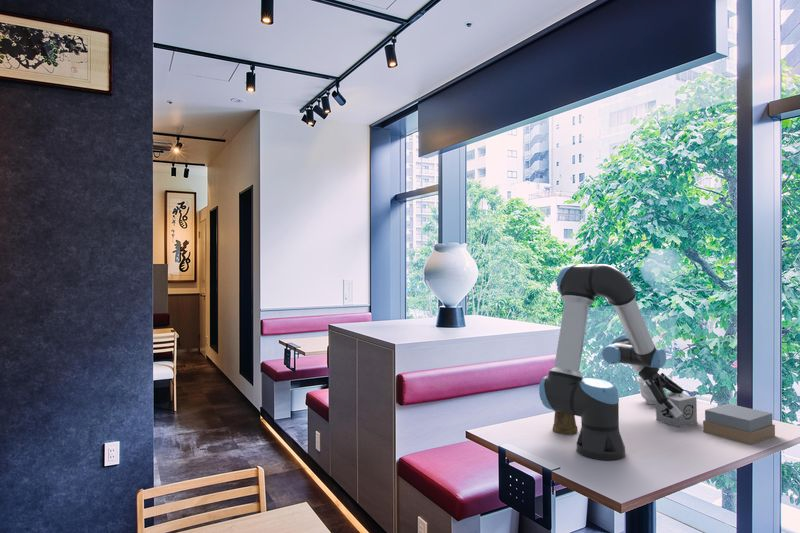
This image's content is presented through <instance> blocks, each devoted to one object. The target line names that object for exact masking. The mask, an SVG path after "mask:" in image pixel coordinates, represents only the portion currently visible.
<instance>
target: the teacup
mask: <svg viewBox="0 0 800 533" xmlns="http://www.w3.org/2000/svg"><path fill="white" fill-rule="evenodd" d="M636 381H637V382H638V385H639V390H640V395H641V397H642V399H644V400H645V403H646V404H648V405H656V398H655V397H654V395H653V393H652V391H651V390H650V388H649V387H648V385H647V384H646V383H645V382H646V381H647V380H646V381H644V380H643V379H642V378H641V377H639V378H637V379H636ZM663 390H664V392H665V390H666V388H663ZM665 393H666V392H665Z"/></svg>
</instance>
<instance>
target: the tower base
mask: <svg viewBox="0 0 800 533" xmlns="http://www.w3.org/2000/svg"><path fill="white" fill-rule="evenodd" d="M704 419H705V420H702V422H703V423H702V431H703V433H707V434H710V435H715V436H718V437H721V438H725V439H729V440H732V441H737V442H740V443H743V444H747V445H751V446H752V445H754V444H757V443H760V442H763V441H765V440H768V439H771V438H773V437H775V436H776V427H775V426H776V425H775V423H774V424H773V413H772V412H767V411H763V410H760V409H755V408H754V409H753V408H749V407H745V406H740V405H737V404H731V403H726V404H723V405H722V404H721V405H717V406H715V407H711V408H707V409H705V410H704ZM770 437H771V438H770Z"/></svg>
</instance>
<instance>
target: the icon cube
mask: <svg viewBox="0 0 800 533" xmlns="http://www.w3.org/2000/svg"><path fill="white" fill-rule="evenodd" d="M665 395H666V397H667V399H668V400H669V399H670V401H671V402H672V403H673V404H674V405H675V406H676V407H677V408H678V409H679V410H680V411H681V412H682V414H681V415H680V416H679V417H677V418H676V417H675V416H674V415H673V414H672V413H671V412H670V410H669V409H668V408H667V407H666V406H665V405H664V404H662V405H661V404H659V403H658V402H657V400H656V404H655V418H656V419H655V420H656V421H659V422H662V423H665V424H669V425H672V426H675V427H679V428H682V427H685V425H686V426H689V425H695V424H697V423H698V417H697V416H698V415H697V414H698V411H697V410H698V409H697V408H698V407H697V406H698V405H697V396H692V395H689V394H685V393H683V394H681V393H677V392H676V393H672V392H671V391H669V392H668V391H667V392H665Z"/></svg>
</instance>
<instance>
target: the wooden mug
mask: <svg viewBox="0 0 800 533" xmlns="http://www.w3.org/2000/svg"><path fill="white" fill-rule="evenodd" d="M552 431H553V432H554V433H556V434H560V435H575V434H577V433H578V426H577V422H576V416H575V415H571V414H567V413H562V412H556V411H554V419H553V425H552Z"/></svg>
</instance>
